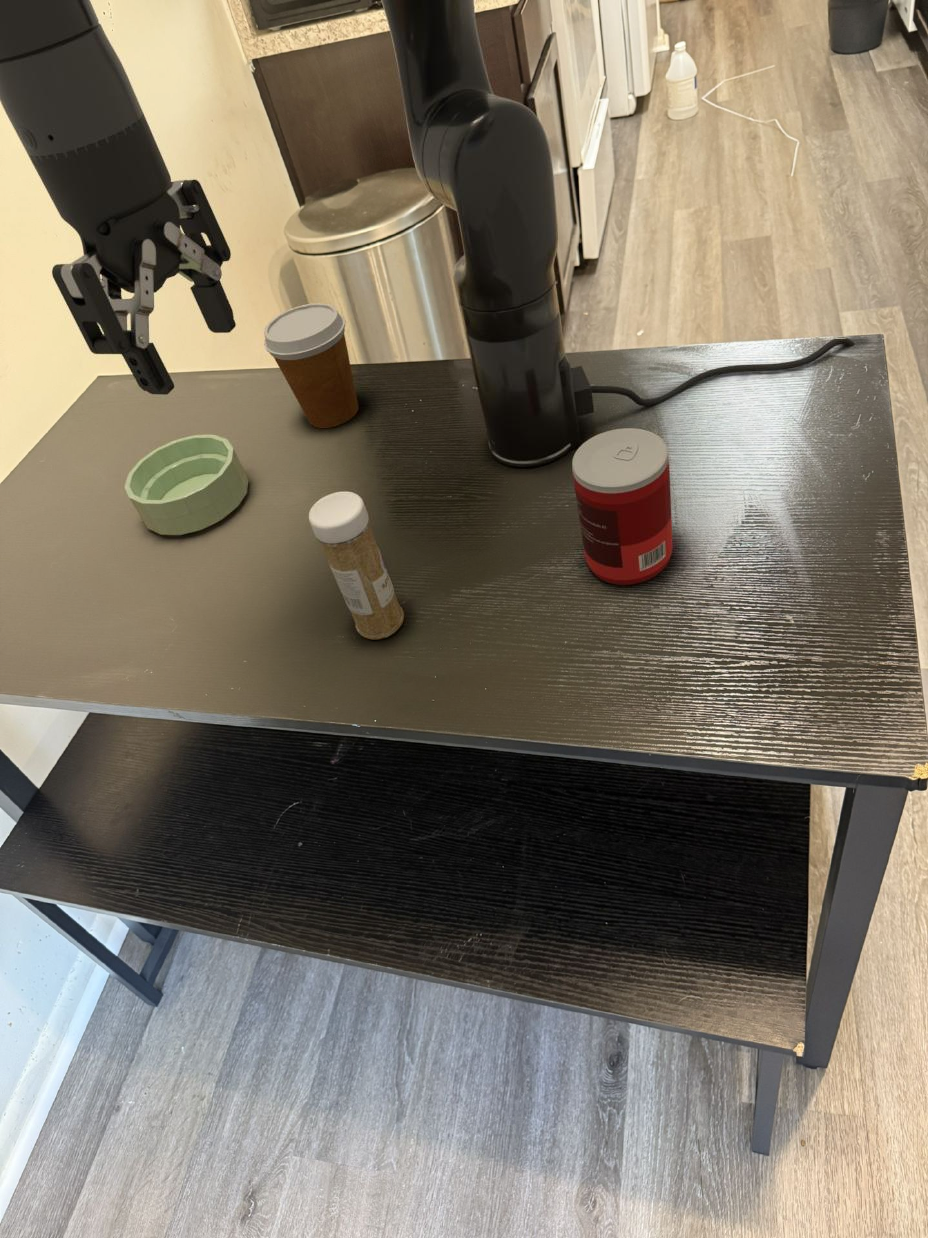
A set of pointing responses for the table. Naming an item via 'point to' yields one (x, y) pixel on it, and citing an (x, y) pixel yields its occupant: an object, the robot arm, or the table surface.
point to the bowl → (187, 484)
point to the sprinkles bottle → (357, 563)
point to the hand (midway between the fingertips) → (194, 359)
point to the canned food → (624, 504)
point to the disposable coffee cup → (314, 361)
